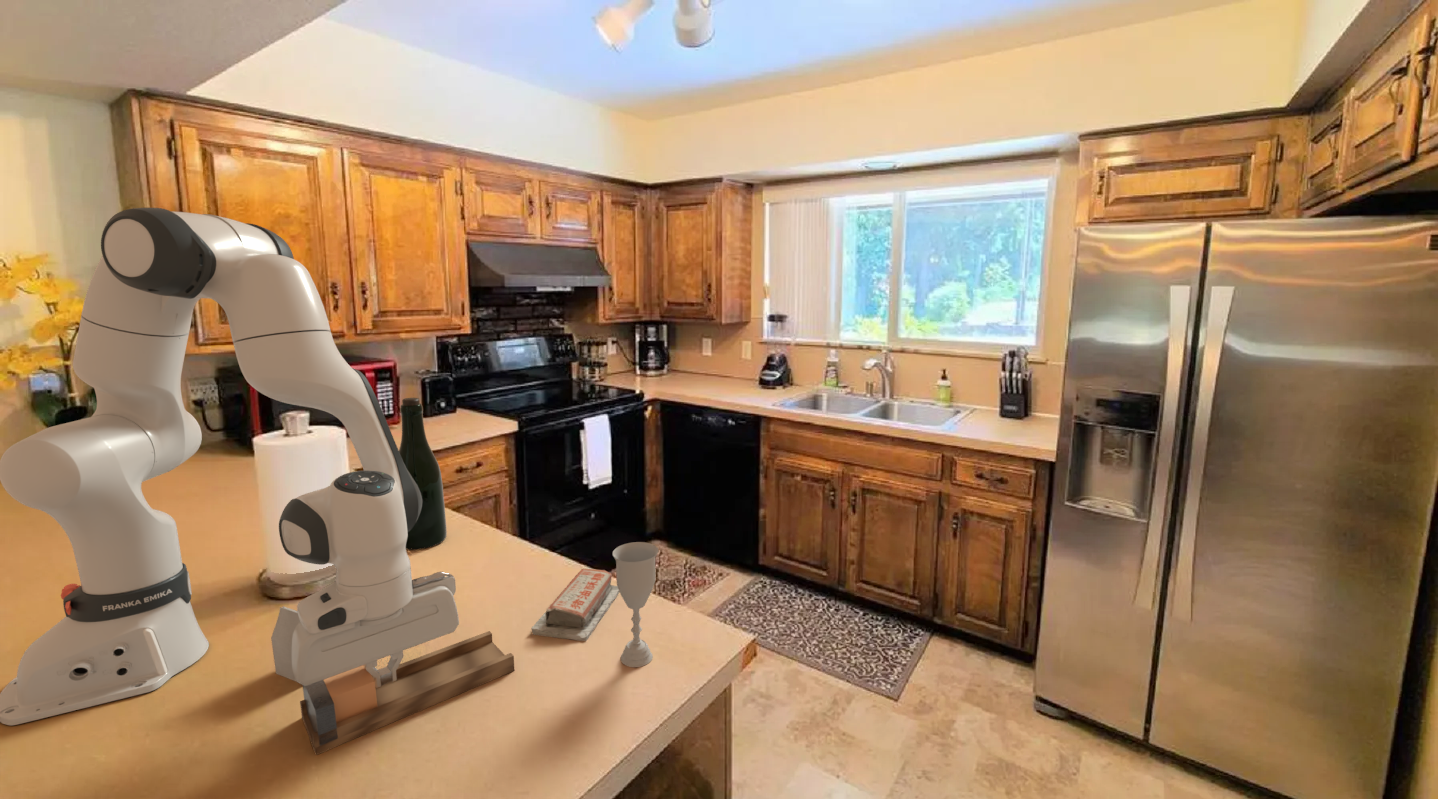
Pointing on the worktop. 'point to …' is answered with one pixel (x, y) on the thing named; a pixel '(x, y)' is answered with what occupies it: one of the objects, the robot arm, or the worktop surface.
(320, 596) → the robot arm
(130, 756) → the worktop surface
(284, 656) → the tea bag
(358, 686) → the orange block
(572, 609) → the packaged product
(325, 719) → the end stop
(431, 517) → the beer bottle
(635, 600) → the chalice
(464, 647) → the track
